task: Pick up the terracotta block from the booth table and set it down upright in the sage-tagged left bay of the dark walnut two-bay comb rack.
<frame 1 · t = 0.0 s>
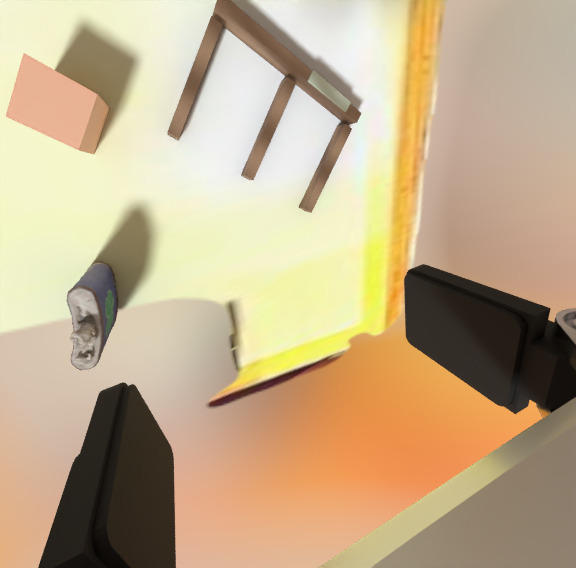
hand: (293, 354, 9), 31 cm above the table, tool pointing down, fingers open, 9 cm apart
dark blue pouch: (104, 296, 35), on the table
block: (73, 117, 29), on the table
comb rack: (264, 132, 36), on the table
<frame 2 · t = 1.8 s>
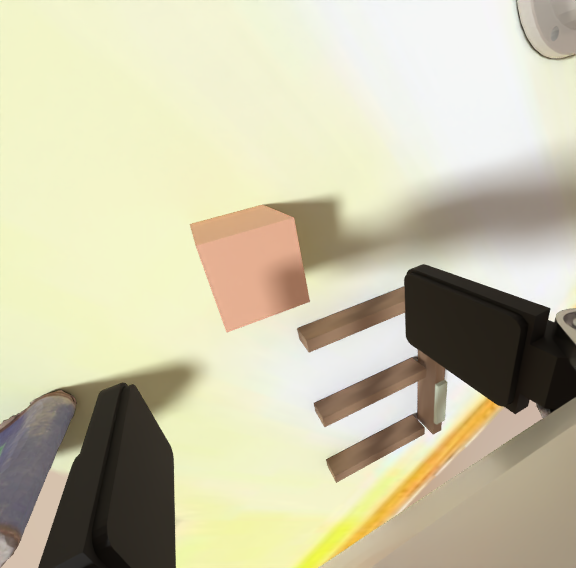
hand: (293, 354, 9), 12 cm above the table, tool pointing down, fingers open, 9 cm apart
dark blue pouch: (16, 433, 19), on the table
block: (237, 248, 20), on the table
comb rack: (365, 383, 30), on the table
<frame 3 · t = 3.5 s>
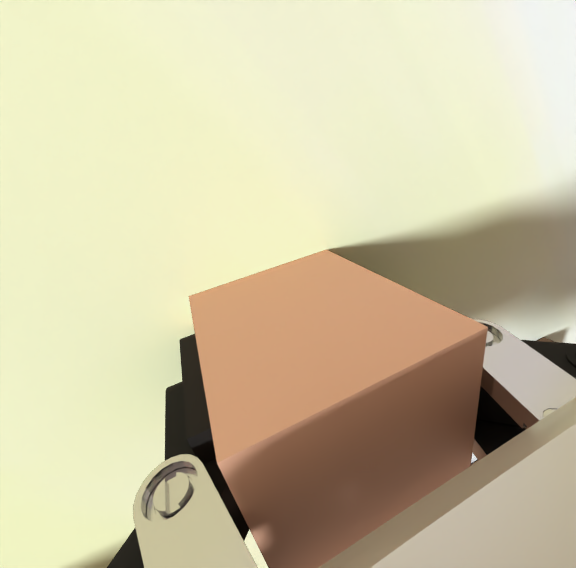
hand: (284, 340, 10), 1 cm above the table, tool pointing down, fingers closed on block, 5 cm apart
block: (277, 331, 11), on the table, touching gripper
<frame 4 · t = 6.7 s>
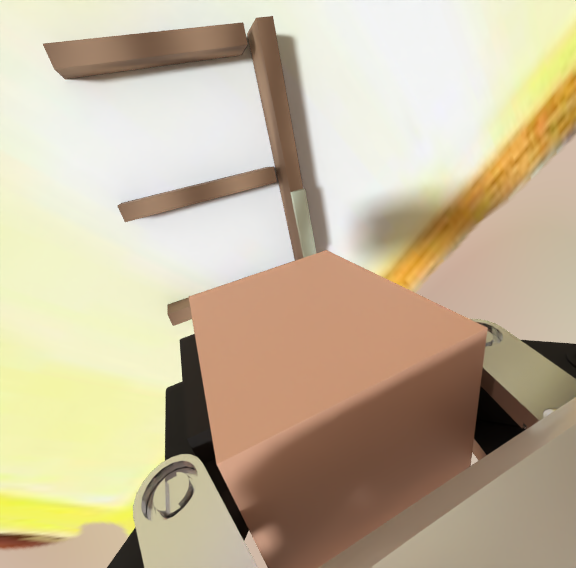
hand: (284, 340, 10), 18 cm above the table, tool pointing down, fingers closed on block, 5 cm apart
block: (277, 331, 11), point 17 cm above the table, touching gripper
comb rack: (201, 191, 24), on the table
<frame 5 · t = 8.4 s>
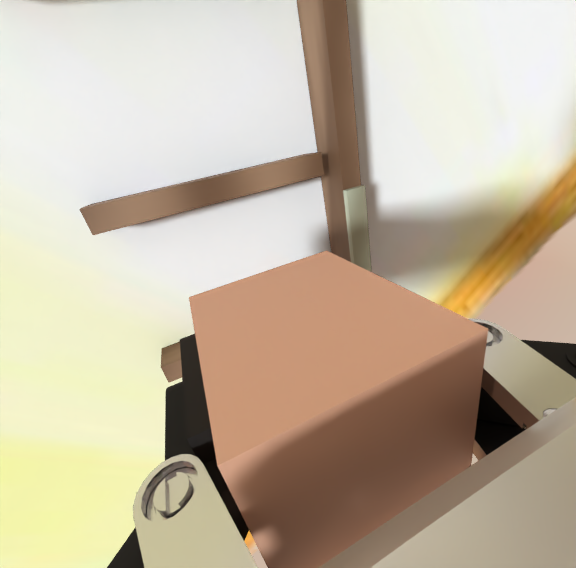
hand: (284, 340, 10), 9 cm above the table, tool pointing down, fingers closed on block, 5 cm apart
block: (277, 331, 11), point 8 cm above the table, touching gripper
comb rack: (211, 187, 16), on the table
when the fingers open (3 cm above the table, at t = 9.9 s): block drops 2 cm, resting in comb rack.
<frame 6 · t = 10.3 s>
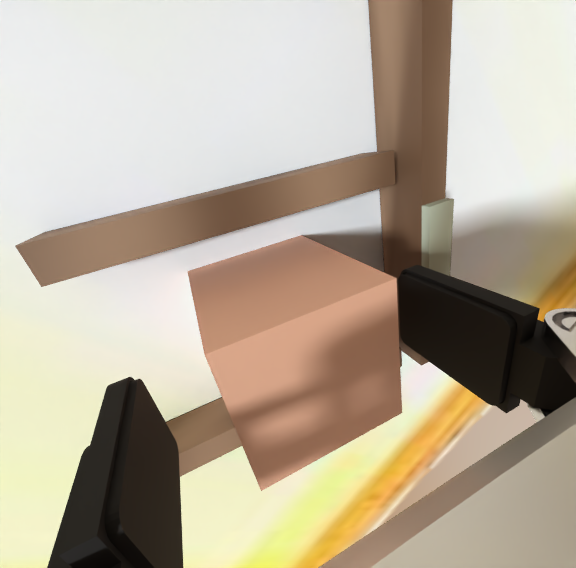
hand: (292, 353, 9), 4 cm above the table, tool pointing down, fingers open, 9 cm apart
block: (261, 303, 13), resting in comb rack
comb rack: (230, 203, 11), on the table
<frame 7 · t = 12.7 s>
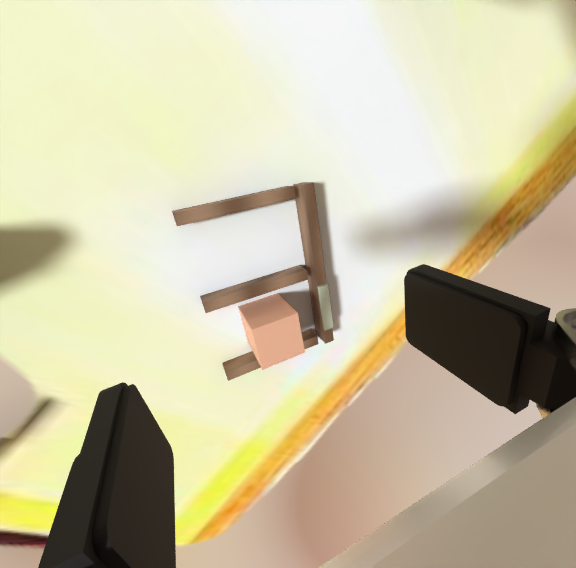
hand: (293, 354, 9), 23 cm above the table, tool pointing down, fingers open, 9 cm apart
block: (262, 317, 35), resting in comb rack
comb rack: (253, 284, 33), on the table
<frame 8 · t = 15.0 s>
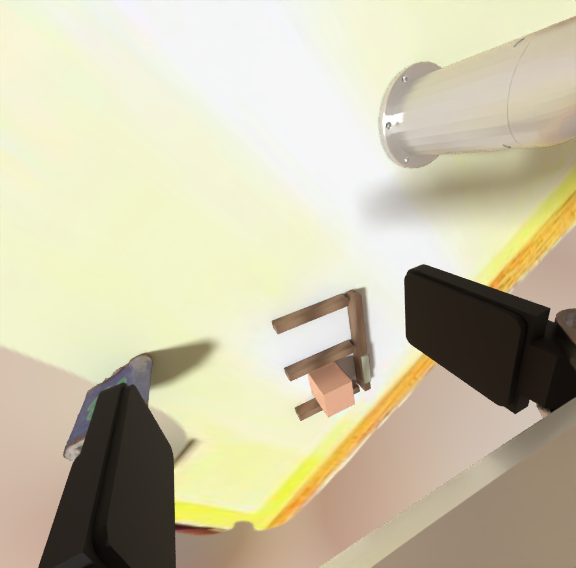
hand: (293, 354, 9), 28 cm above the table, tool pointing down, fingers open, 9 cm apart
dark blue pouch: (120, 377, 37), on the table
block: (321, 376, 50), resting in comb rack
comb rack: (317, 356, 48), on the table
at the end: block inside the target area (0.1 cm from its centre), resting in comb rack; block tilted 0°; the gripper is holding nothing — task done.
